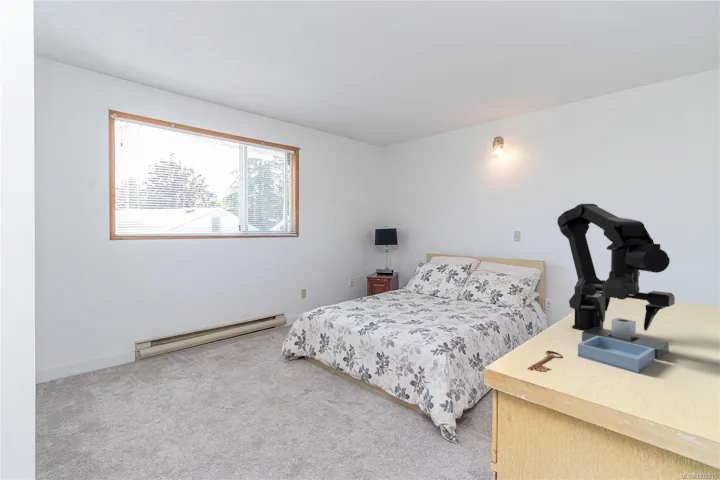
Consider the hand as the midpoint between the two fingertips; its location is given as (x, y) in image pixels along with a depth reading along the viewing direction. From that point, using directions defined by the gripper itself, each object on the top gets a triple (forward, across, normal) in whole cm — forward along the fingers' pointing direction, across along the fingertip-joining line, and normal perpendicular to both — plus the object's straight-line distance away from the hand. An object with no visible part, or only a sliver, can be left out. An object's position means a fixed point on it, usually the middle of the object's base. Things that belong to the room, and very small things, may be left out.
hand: (623, 325), depth 86 cm
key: (+6, -6, -28) cm, 29 cm away
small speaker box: (+6, 0, 0) cm, 6 cm away
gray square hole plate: (+6, 0, 0) cm, 6 cm away
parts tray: (+5, +2, -12) cm, 13 cm away
